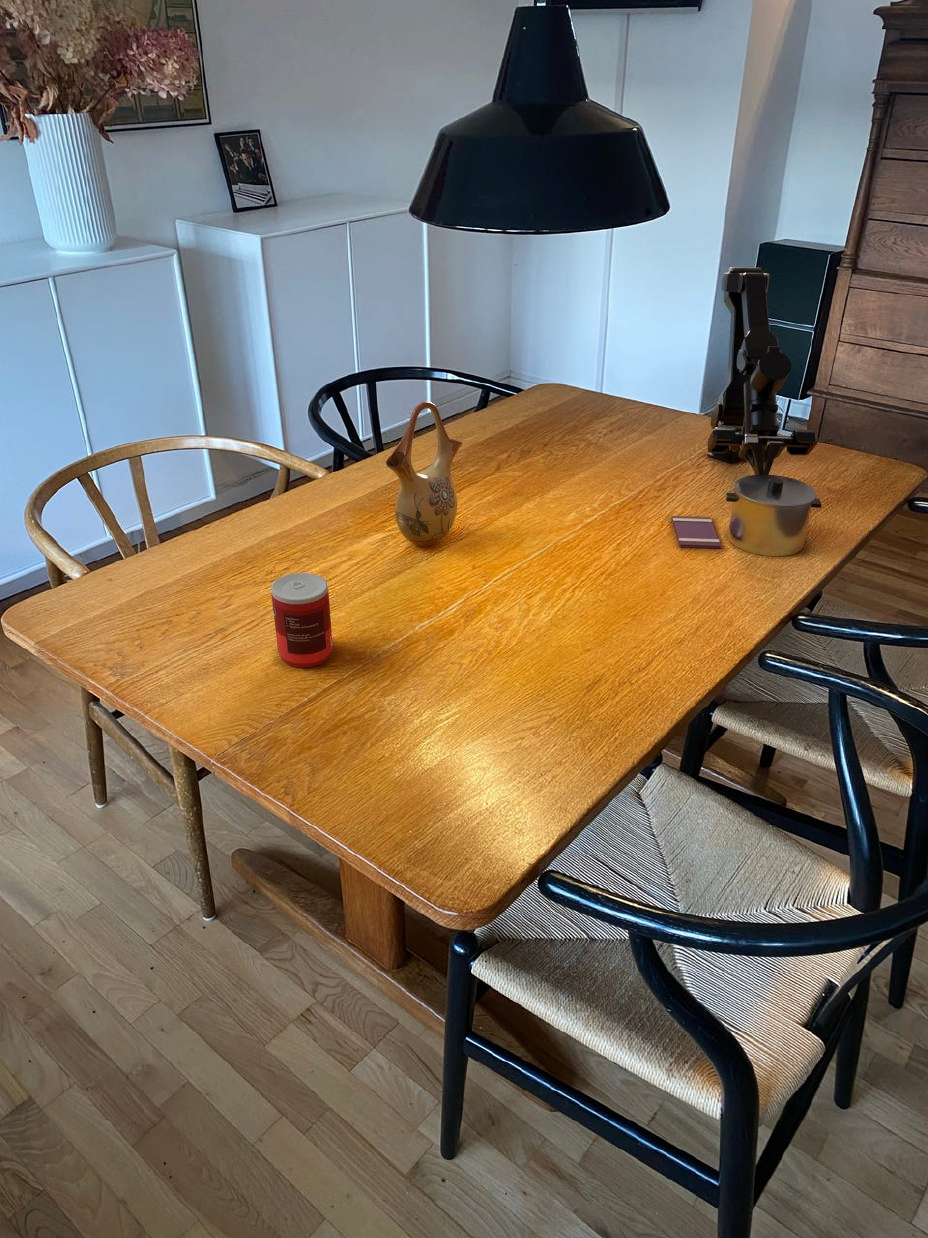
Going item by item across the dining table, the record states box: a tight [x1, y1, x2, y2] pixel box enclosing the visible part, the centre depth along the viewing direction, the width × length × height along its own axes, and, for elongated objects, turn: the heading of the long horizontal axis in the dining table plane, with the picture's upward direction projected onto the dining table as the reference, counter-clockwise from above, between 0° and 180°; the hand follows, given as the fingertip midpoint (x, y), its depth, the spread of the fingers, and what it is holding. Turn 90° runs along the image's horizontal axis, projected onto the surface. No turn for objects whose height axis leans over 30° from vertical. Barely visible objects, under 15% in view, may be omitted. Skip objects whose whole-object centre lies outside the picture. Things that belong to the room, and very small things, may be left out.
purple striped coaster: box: [671, 515, 722, 550], centre depth 166 cm, size 12×7×1 cm, turn 176°
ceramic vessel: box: [385, 401, 463, 547], centre depth 157 cm, size 16×9×25 cm, turn 136°
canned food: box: [270, 572, 334, 669], centre depth 129 cm, size 8×8×11 cm
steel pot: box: [724, 474, 823, 557], centre depth 161 cm, size 14×16×11 cm
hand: (762, 484), depth 169 cm, fingers closed
